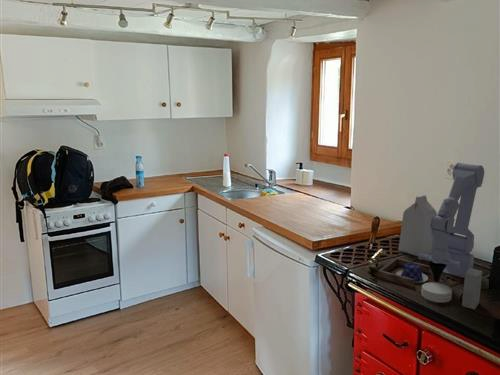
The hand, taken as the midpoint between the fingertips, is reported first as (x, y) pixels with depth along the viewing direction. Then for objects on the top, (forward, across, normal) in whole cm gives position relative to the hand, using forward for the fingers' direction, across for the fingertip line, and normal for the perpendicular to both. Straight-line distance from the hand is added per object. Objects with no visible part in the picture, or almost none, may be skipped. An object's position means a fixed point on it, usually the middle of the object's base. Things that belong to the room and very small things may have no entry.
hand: (436, 281), depth 164 cm
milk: (+1, -19, +31) cm, 36 cm away
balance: (+1, -25, +1) cm, 25 cm away
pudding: (+2, -9, 0) cm, 10 cm away
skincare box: (+1, +14, -10) cm, 18 cm away
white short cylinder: (+1, +4, -11) cm, 12 cm away
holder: (+1, -14, 0) cm, 14 cm away
